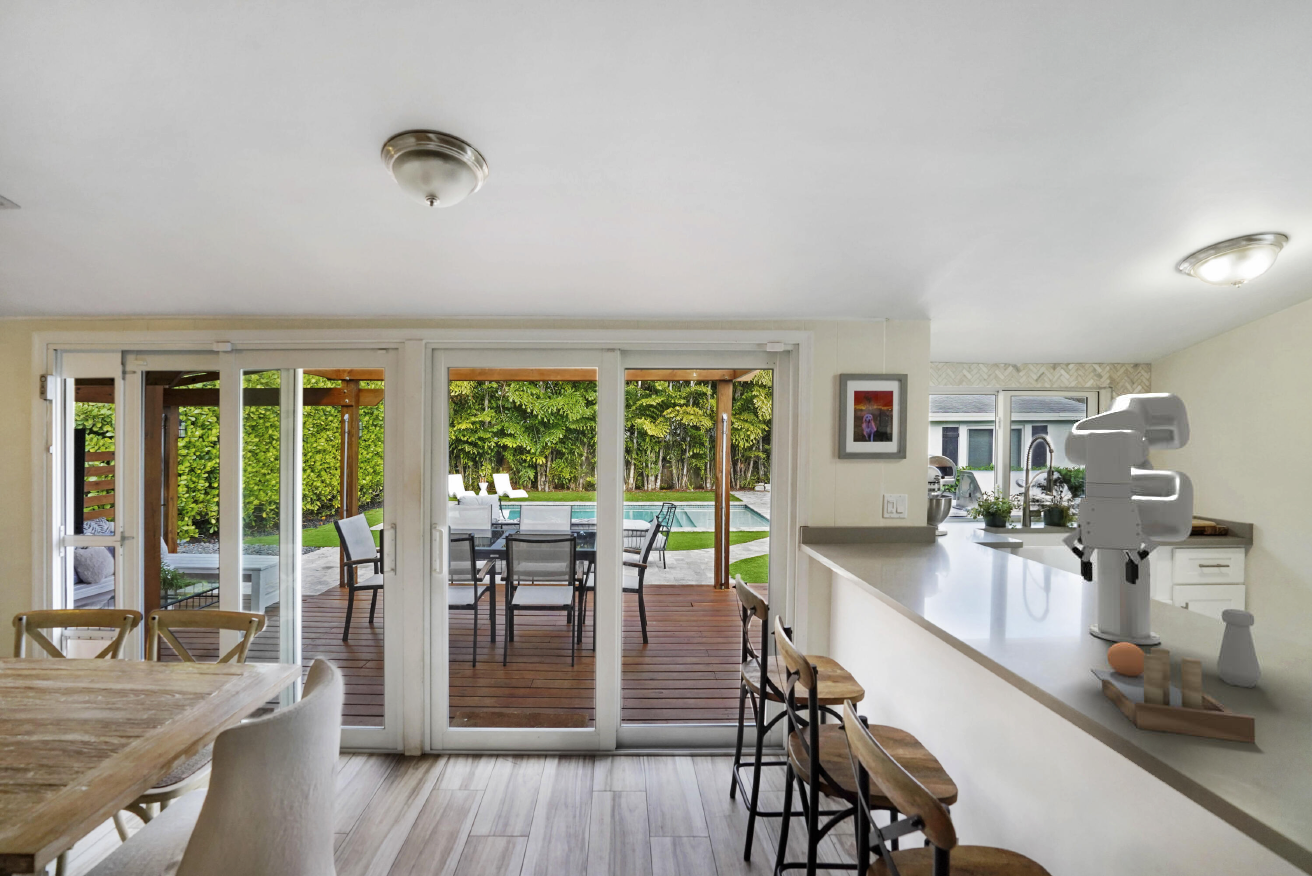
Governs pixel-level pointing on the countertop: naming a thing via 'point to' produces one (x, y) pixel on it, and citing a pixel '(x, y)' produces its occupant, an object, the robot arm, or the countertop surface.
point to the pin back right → (1153, 679)
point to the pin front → (1164, 673)
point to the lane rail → (1185, 717)
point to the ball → (1126, 659)
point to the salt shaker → (1238, 650)
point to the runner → (1135, 686)
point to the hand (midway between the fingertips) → (1109, 581)
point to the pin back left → (1191, 683)
